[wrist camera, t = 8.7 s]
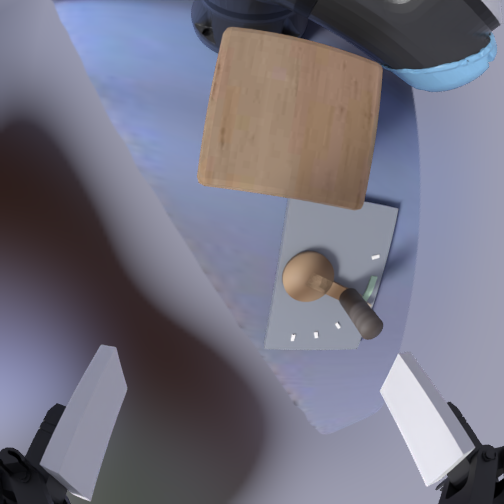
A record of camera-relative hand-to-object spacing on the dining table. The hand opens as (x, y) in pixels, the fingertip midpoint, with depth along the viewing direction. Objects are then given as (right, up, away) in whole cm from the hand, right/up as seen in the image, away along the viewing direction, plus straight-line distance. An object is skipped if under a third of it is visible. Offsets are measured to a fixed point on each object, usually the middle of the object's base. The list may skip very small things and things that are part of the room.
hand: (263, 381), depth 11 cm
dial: (+11, +1, +26) cm, 28 cm away
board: (+11, +2, +28) cm, 30 cm away
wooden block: (+1, +20, +21) cm, 29 cm away
